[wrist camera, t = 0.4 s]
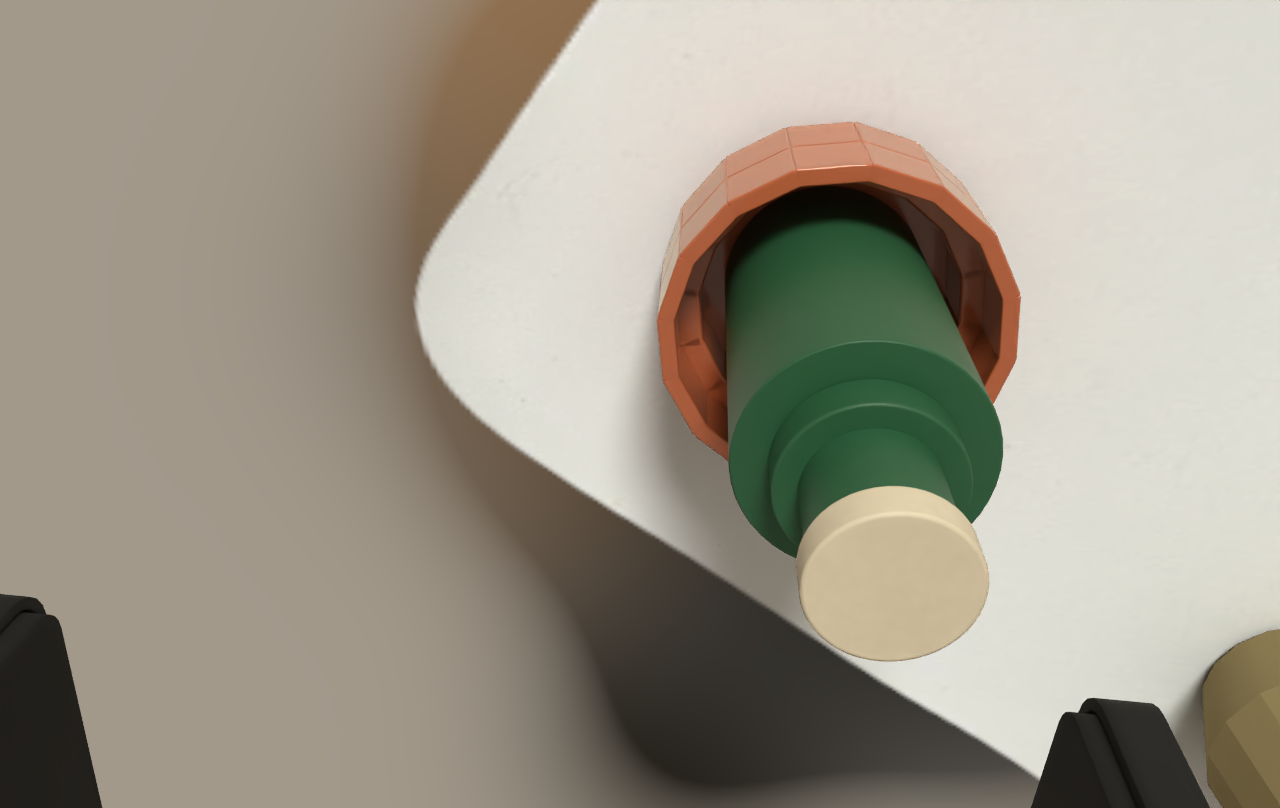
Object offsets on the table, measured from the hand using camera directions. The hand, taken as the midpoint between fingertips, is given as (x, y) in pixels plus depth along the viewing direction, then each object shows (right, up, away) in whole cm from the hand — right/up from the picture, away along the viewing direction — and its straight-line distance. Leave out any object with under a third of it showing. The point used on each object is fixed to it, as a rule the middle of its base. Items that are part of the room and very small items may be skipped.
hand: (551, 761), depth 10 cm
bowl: (+7, +8, +25) cm, 27 cm away
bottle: (+7, +7, +24) cm, 26 cm away
